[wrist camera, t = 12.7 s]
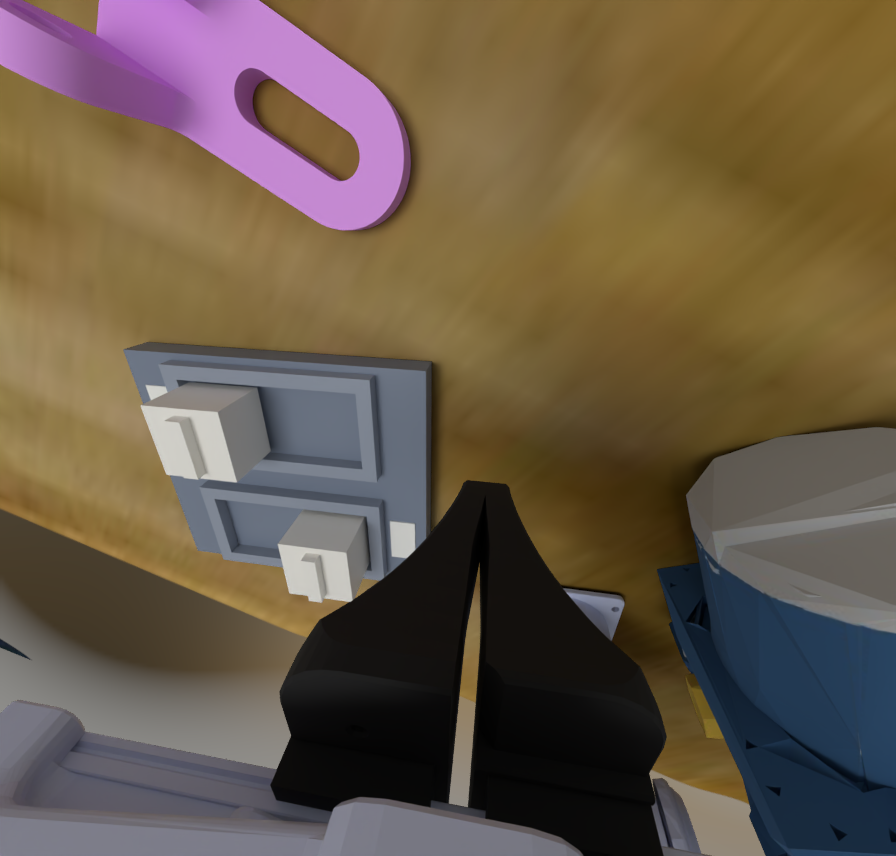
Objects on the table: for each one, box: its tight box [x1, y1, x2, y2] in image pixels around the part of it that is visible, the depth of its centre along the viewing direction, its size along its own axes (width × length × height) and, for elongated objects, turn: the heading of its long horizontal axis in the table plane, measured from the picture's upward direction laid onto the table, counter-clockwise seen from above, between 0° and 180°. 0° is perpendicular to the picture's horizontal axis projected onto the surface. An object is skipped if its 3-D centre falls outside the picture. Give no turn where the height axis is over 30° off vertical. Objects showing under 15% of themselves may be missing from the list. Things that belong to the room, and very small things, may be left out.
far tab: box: [278, 509, 370, 603], centre depth 23 cm, size 4×4×4 cm
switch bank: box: [124, 342, 432, 580], centre depth 24 cm, size 15×17×2 cm
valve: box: [657, 427, 896, 856], centre depth 16 cm, size 13×15×15 cm
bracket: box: [0, 0, 411, 230], centre depth 14 cm, size 13×6×7 cm, turn 59°
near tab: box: [141, 382, 271, 482], centre depth 20 cm, size 4×4×4 cm
